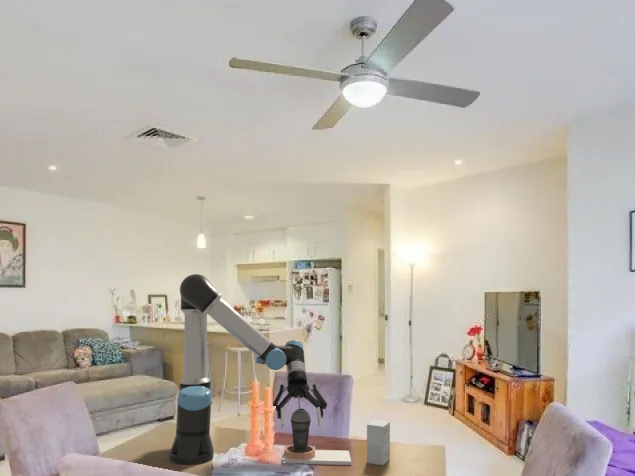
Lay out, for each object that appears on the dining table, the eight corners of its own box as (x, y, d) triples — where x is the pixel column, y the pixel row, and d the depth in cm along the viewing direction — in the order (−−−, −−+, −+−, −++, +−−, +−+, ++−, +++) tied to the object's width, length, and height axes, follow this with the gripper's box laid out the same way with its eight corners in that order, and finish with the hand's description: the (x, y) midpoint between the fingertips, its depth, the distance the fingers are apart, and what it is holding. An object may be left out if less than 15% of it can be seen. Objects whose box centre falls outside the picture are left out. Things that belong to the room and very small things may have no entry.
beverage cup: (301, 458, 168) (302, 399, 170) (285, 454, 173) (286, 396, 175) (314, 453, 174) (315, 396, 176) (298, 449, 178) (299, 393, 180)
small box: (373, 456, 177) (373, 419, 179) (390, 459, 175) (390, 421, 176) (366, 462, 170) (366, 424, 172) (383, 465, 167) (383, 426, 169)
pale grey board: (281, 463, 167) (281, 459, 167) (283, 452, 179) (283, 449, 179) (351, 465, 167) (351, 461, 167) (348, 454, 179) (348, 450, 179)
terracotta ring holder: (283, 459, 168) (283, 453, 168) (285, 449, 179) (285, 443, 179) (315, 460, 168) (315, 454, 168) (315, 450, 179) (315, 444, 179)
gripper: (326, 381, 193) (334, 430, 177) (263, 381, 189) (265, 432, 172) (329, 369, 189) (337, 419, 172) (265, 369, 184) (267, 420, 168)
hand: (301, 425), depth 172 cm, fingers open, 13 cm apart
